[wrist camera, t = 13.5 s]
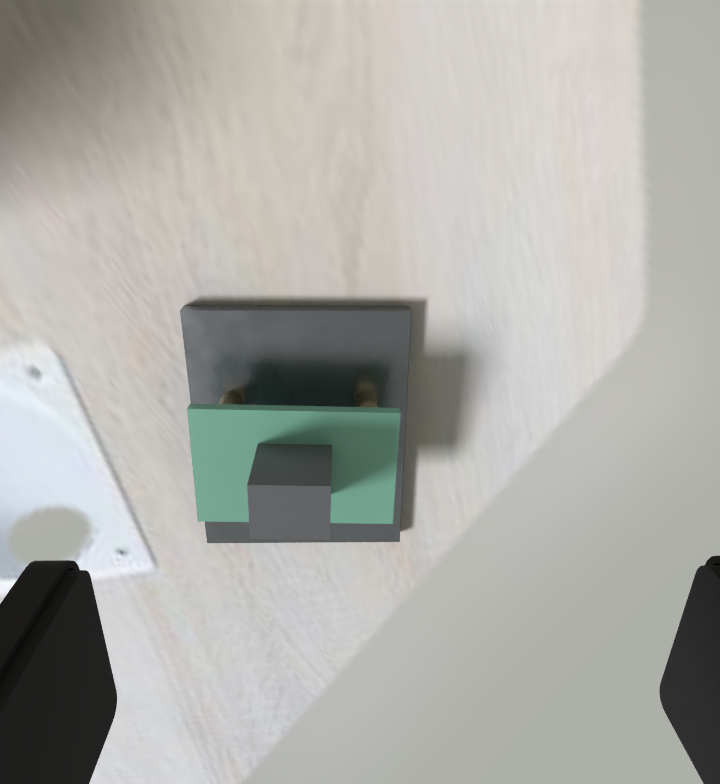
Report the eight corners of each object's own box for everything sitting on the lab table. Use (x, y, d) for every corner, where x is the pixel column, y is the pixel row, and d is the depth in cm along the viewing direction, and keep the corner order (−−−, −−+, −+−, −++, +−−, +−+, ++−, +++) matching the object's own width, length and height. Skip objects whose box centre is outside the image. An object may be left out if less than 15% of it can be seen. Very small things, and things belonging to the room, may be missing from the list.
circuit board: (200, 514, 43) (180, 569, 38) (190, 403, 40) (166, 447, 34) (391, 517, 44) (398, 571, 39) (399, 407, 40) (408, 451, 35)
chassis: (184, 305, 42) (164, 329, 37) (409, 306, 43) (417, 330, 38) (210, 533, 51) (196, 576, 46) (398, 532, 51) (403, 575, 46)
